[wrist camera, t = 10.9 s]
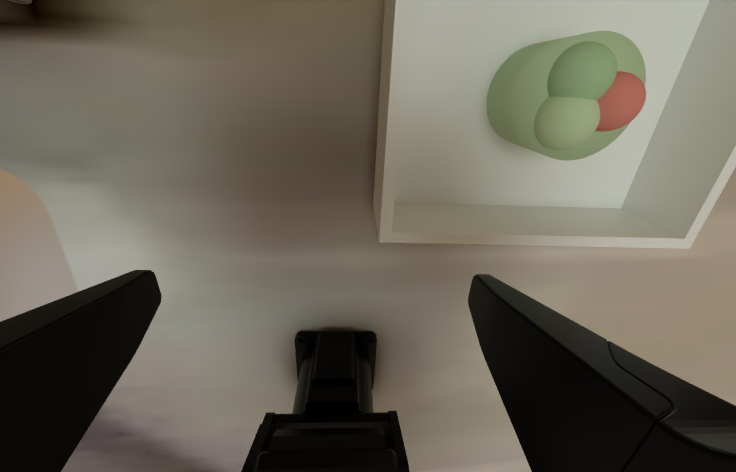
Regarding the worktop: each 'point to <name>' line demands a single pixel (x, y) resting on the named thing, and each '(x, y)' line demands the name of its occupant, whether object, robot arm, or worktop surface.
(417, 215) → the serving bin
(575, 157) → the salad portion
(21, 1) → the coffee box
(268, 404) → the worktop surface
